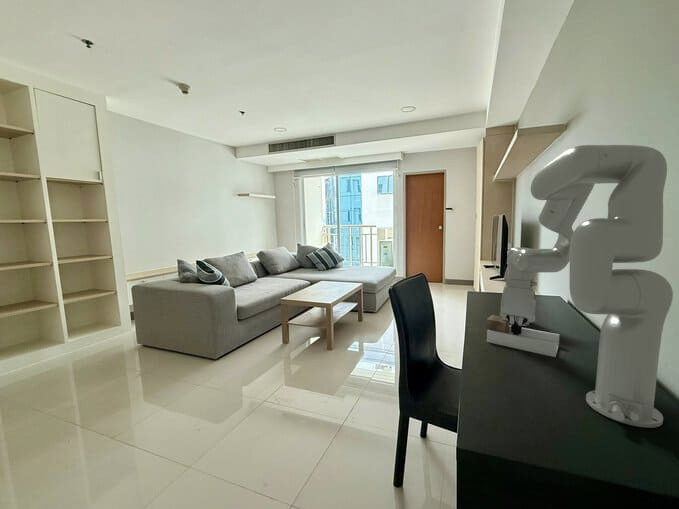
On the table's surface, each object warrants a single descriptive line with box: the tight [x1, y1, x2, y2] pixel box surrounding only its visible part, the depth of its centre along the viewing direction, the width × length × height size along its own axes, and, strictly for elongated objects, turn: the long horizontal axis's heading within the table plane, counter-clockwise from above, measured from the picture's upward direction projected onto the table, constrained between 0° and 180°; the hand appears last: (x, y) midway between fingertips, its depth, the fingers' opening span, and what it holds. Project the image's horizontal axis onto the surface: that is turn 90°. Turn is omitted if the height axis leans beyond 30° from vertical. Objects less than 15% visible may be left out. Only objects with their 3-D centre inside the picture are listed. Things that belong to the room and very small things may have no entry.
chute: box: [486, 325, 560, 358], centre depth 107 cm, size 20×12×4 cm, turn 51°
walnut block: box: [485, 314, 509, 337], centre depth 111 cm, size 6×7×6 cm
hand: (515, 335), depth 108 cm, fingers closed
